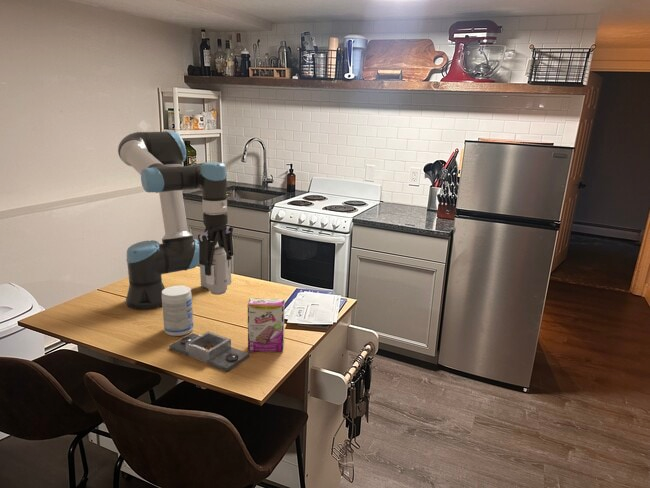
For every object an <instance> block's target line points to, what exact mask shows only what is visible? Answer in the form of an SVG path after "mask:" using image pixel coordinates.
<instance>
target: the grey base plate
mask: <svg viewBox="0 0 650 488" xmlns="http://www.w3.org/2000/svg"><path fill="white" fill-rule="evenodd" d="M207 346H212V347H211V348H209V349H207V348H205V347H207ZM168 349H169V350H171V351H173V352H176V353H178V354H180V355H183V356H186V357H189V358H192V359H195V360H197V361H200V362H201V363H205V364H207V365H208V366H211V367H214V368H217V369H220V370H222V371H225V372H229V371H231V370H232V369H234V368H235V367H237V366H238V365H240V364H241V363H243V362H245V360H247V359H249V358H250V352H246V351H243V350H241V349H238V348H235V347H232V339H231V338H228V337H225V336H223V335H220V334H218V333H217V334H216V333H214V332H211V331H209V330H208V331H205V332H204V333H202V334H201V335H199V334H197V333H193V332H192V333H189V335H188V334H187V336H184V337H182V338H181V339H178V340H177V341H175V342H173V343H171V344H170V345H168Z"/></svg>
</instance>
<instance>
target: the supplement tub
mask: <svg viewBox="0 0 650 488" xmlns="http://www.w3.org/2000/svg"><path fill="white" fill-rule="evenodd" d="M192 297H193V296H192V289H191V288H190V287H189V286H187V285H172V286H171V285H170V286H168V287H165V289H164V290H162V306H161V307H162V316H163V329H164V333H165V334H167V335H168V336H171V337H181V336H185V335H188V334H191V332H193V330H194V327H195V326H194V315H193V312H194V311H193V298H192Z"/></svg>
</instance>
